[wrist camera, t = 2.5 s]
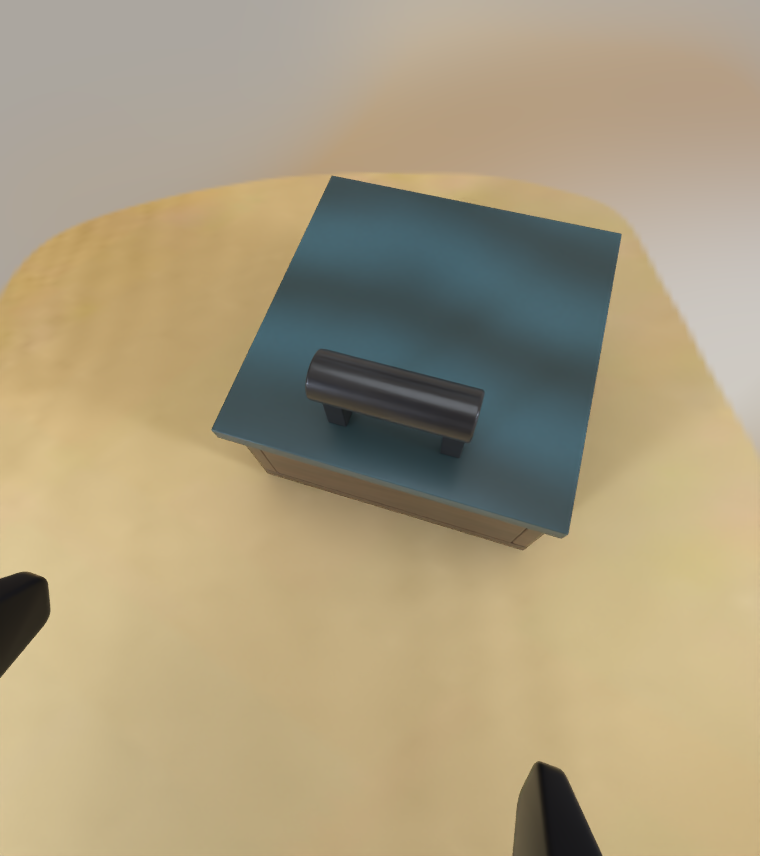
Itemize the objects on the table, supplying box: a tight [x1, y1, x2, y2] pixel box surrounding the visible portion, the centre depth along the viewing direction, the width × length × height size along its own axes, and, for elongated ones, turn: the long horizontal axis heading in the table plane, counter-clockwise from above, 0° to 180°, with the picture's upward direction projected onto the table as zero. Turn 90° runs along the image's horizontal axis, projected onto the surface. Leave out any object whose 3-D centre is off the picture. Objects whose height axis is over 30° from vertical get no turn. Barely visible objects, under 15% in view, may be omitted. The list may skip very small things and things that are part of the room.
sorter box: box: [247, 446, 544, 550], centre depth 23 cm, size 12×12×6 cm
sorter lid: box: [212, 176, 621, 538], centre depth 18 cm, size 13×12×4 cm
